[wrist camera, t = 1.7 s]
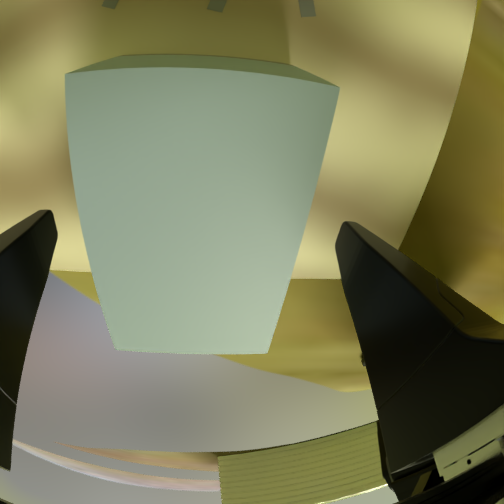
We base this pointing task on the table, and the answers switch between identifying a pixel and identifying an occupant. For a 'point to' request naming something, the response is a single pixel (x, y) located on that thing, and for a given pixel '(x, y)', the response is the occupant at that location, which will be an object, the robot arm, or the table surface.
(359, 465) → the stack of papers
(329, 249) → the maple board
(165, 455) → the table surface
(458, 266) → the table surface
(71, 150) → the block
